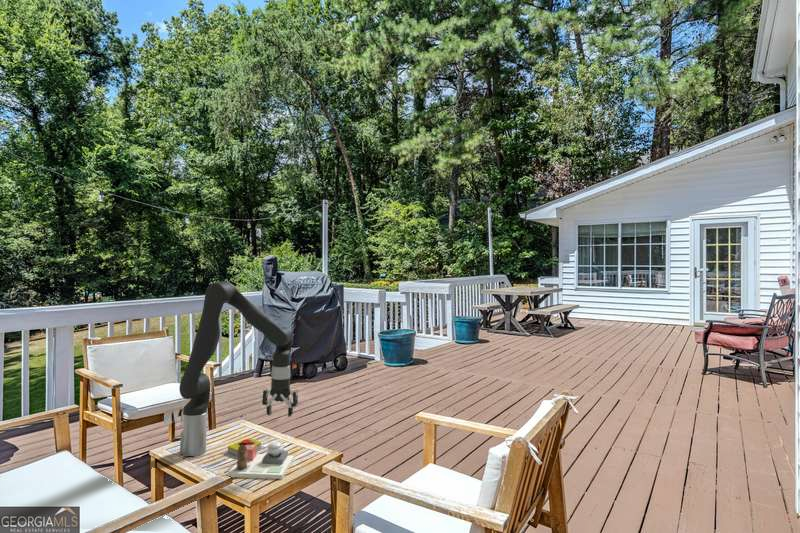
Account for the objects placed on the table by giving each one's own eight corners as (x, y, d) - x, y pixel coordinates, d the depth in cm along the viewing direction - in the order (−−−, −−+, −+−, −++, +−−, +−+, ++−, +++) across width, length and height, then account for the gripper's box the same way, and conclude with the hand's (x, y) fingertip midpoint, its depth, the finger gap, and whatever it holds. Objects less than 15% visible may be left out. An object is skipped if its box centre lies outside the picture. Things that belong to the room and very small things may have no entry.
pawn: (235, 469, 169) (236, 446, 169) (239, 465, 173) (239, 443, 173) (244, 470, 169) (245, 447, 169) (248, 465, 173) (248, 443, 173)
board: (227, 476, 167) (227, 467, 167) (244, 457, 184) (244, 448, 184) (282, 478, 166) (282, 469, 166) (293, 459, 184) (294, 450, 183)
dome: (265, 458, 176) (265, 447, 176) (270, 451, 182) (270, 440, 182) (280, 458, 176) (281, 447, 176) (285, 452, 182) (285, 441, 182)
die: (241, 460, 178) (241, 449, 178) (245, 455, 182) (246, 444, 182) (252, 460, 178) (252, 449, 178) (256, 456, 182) (256, 445, 182)
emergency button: (265, 438, 194) (236, 450, 182) (265, 448, 194) (236, 460, 182) (251, 433, 199) (222, 444, 187) (251, 443, 199) (222, 455, 187)
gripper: (260, 377, 178) (259, 417, 178) (294, 379, 177) (293, 419, 177) (267, 373, 185) (266, 411, 185) (300, 375, 184) (299, 413, 184)
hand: (279, 415), depth 181 cm, fingers open, 8 cm apart
